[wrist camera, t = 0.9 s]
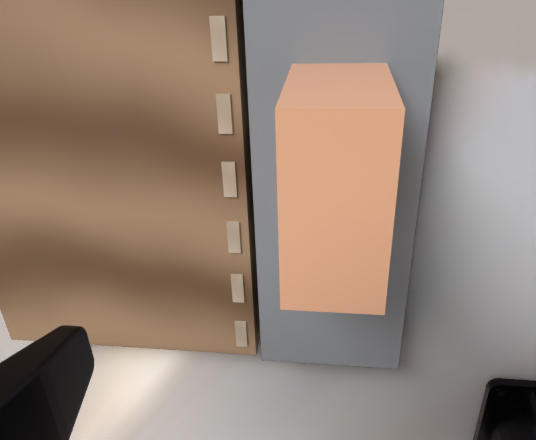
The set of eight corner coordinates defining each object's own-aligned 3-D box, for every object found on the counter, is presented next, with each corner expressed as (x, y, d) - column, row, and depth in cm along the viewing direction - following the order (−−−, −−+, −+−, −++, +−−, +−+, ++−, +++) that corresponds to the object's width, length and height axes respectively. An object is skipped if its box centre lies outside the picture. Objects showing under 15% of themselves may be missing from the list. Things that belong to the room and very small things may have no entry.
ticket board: (260, 332, 24) (255, 356, 23) (27, 319, 26) (10, 341, 24) (232, -197, 15) (221, -211, 13) (-136, -170, 16) (-181, -180, 15)
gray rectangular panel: (394, 345, 23) (412, 474, 18) (265, 337, 24) (243, 459, 18) (460, -216, 14) (546, -327, 8) (241, -200, 14) (177, -291, 9)
